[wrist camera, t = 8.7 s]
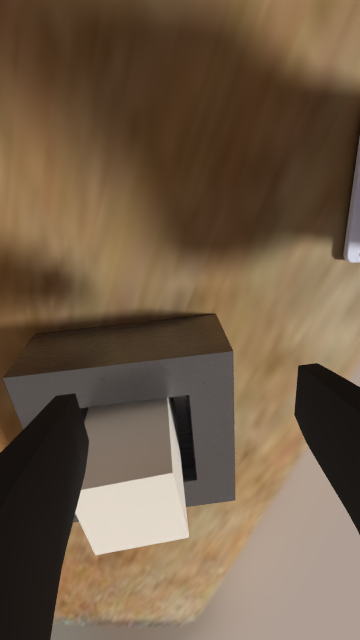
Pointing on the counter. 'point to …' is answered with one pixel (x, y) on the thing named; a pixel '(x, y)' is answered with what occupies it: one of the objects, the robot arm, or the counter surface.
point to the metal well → (144, 386)
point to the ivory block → (132, 477)
